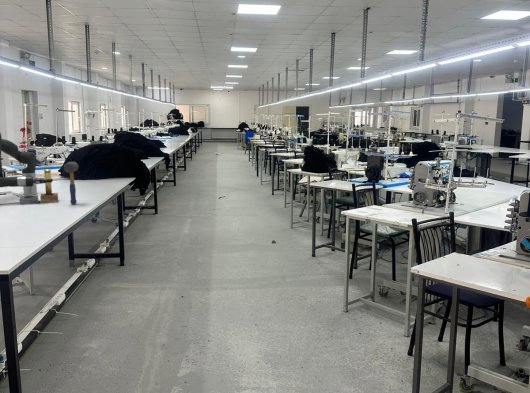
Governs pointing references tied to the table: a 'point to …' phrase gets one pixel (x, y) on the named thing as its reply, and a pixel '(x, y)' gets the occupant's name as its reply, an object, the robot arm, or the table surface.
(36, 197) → the socket block
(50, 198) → the block
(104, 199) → the table surface
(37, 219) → the table surface
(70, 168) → the rubber mallet
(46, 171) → the brass peg
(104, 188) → the table surface
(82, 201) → the table surface
